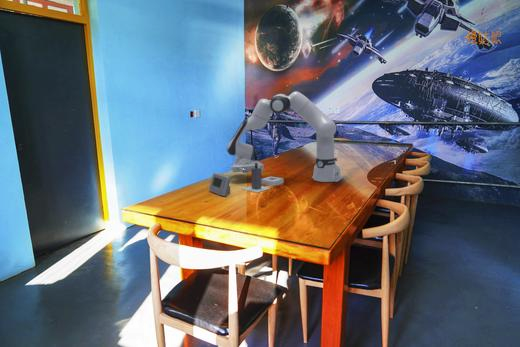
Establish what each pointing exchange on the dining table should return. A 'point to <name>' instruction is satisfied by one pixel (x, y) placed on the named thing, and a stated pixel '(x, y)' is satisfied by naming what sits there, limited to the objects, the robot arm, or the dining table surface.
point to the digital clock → (220, 184)
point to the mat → (257, 189)
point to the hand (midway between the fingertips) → (250, 170)
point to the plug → (256, 177)
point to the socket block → (272, 181)
